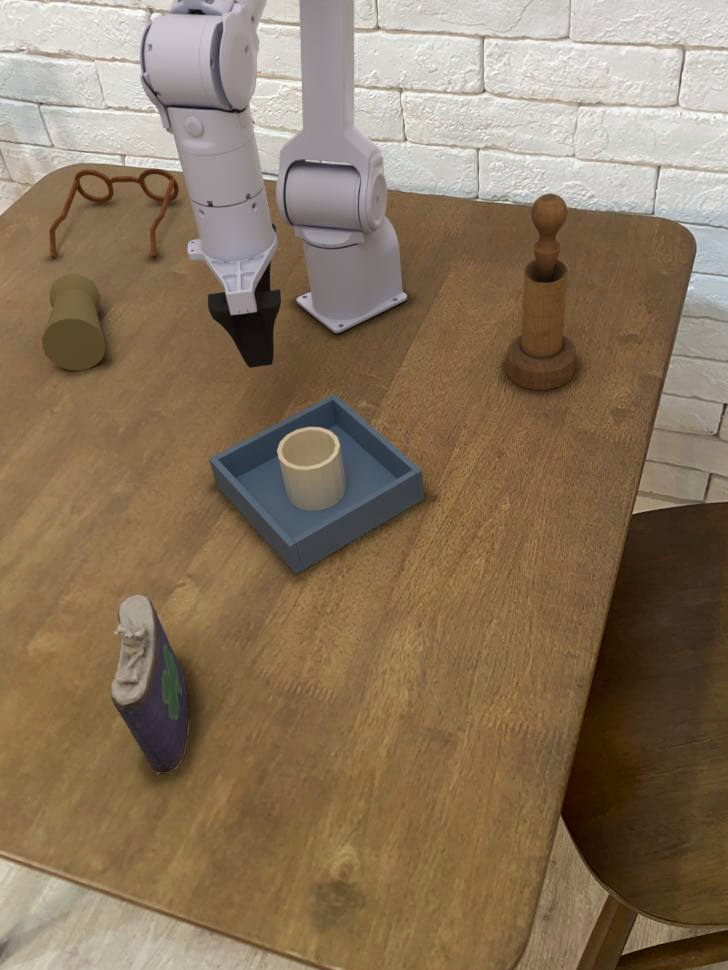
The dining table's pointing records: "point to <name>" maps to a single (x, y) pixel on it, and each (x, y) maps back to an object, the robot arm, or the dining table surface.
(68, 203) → the glasses
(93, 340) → the pepper mill
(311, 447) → the cream cup
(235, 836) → the dining table surface
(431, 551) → the dining table surface
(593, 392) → the dining table surface
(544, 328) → the mortar and pestle
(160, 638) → the flask
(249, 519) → the tray
